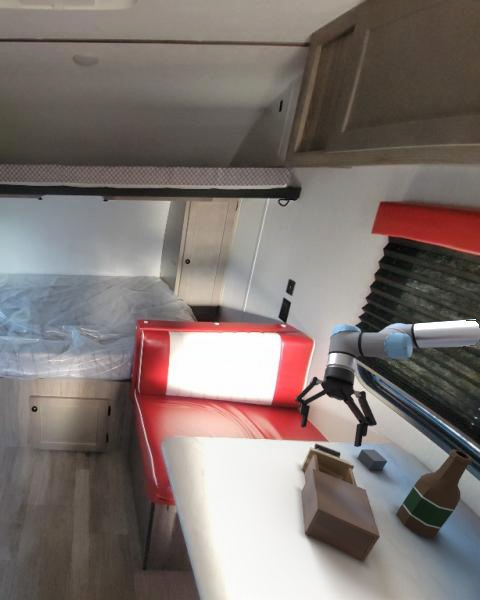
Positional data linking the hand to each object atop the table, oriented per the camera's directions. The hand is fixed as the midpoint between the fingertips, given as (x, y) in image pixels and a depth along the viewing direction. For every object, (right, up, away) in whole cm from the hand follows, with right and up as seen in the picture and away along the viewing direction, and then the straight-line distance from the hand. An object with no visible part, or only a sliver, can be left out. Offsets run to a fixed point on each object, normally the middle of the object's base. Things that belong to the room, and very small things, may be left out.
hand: (329, 436), depth 99 cm
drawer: (-6, -11, -6) cm, 14 cm away
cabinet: (-13, -15, -16) cm, 26 cm away
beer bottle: (+11, -17, -14) cm, 25 cm away
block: (+14, -10, +3) cm, 18 cm away
